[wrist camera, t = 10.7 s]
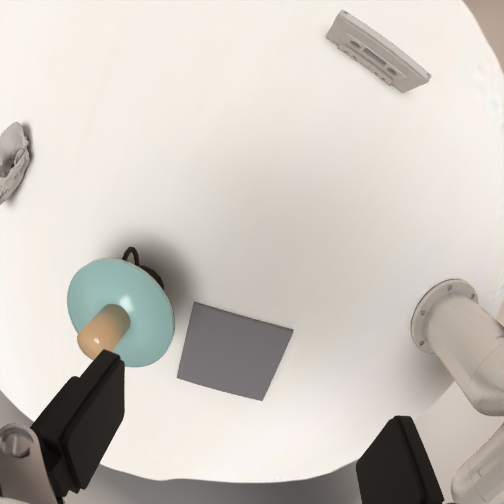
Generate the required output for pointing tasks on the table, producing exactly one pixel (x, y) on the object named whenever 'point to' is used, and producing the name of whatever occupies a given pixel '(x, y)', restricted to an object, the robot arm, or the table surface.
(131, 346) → the lid
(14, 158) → the skull
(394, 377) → the table surface
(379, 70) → the cassette
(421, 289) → the table surface
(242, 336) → the mat
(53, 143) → the table surface
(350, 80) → the table surface
